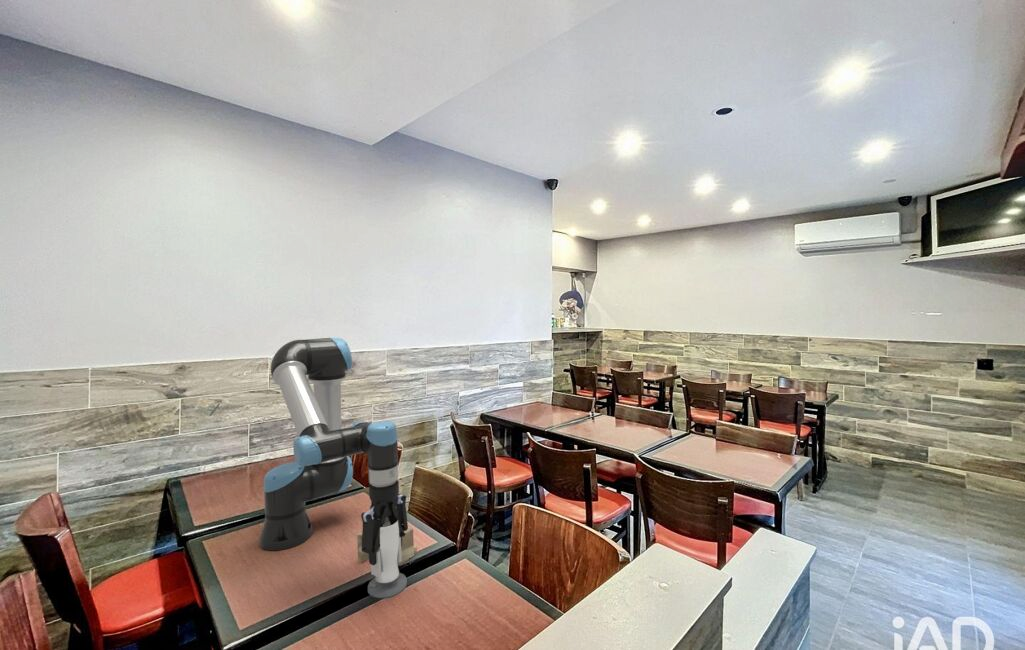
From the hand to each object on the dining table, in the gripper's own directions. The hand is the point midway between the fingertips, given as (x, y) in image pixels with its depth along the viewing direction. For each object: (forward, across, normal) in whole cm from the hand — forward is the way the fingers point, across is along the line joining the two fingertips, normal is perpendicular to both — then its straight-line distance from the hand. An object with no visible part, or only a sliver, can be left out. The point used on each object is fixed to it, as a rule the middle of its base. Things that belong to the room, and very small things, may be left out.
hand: (386, 567), depth 113 cm
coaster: (+5, 0, 0) cm, 5 cm away
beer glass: (+3, 0, 0) cm, 3 cm away
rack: (+5, +9, +10) cm, 14 cm away
